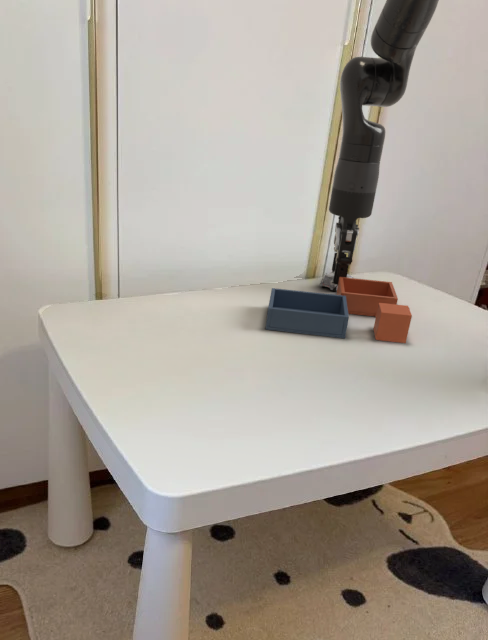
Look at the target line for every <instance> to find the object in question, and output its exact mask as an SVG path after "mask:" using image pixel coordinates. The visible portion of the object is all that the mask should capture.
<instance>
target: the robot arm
mask: <svg viewBox="0 0 488 640" xmlns="http://www.w3.org/2000/svg"><path fill="white" fill-rule="evenodd" d="M438 4H439V0H386V1H385V3H384V5H383V7H382V9H381V12H380V14H379V16H378V19H377V21H376V23H375V25H374V27H373V30H372V34H371V36H370V47H371V50H372V51H373V52H374V54H375V55H377V56H378V57H369V56H354V57H353V58H351V59H349V60H348V62H347V63H346V64H345V65H344V67H343V69H342V72H341V74H340V78H339V79H340V80H339V92H340V103H341V112H342V113H341V114H342V134H341V135H342V137H341V143H340V149H339V155H338V159H337V163H336V167H335V170H334V176H333V182H332V188H331V195H330V200H329V206H328V211H329V213H330V214H332V215H334V216H337V217H338V218H337V220H338V221H336V222H335V226H334V237H333V245H334V246H333V250H334V251H333V252H334V254H333V259H332V260H333V261H332V265H331V272H333V271H335V273H334V279H333V283H334V284H337V285H338V282H339V277H346V278H347V274H348V271H349V266H350V265H352V263H353V256H354V252H355V250H356V244H357V239H358V236H359V232H360V227H359V224H357V220H358V219H366V218H369V217H371V216H372V215H373V214H372V213H373V209H374V203H375V198H376V193H377V188H378V183H379V178H380V167H381V160H382V155H383V149H384V144H385V139H386V128H385V126H384V125H383V124H382V123H378V122H375V121H372V120H369V119H366V117H365V115H364V111H363V106H365V107H381V108H388V107H392V106H394V105H395V104H397V103H398V102H400V100H401V99H402V98H403V96H404V95H405V94H406V90H407V86H408V82H409V76H410V72H411V71H410V70H411V67H412V62H413V59H414V56H415V53H416V49H417V47H418V45H419V43H420V42H421V40H422V38H423V36H424V34H425V32H426V30H427V28H428V26H429V25H430V23H431V21H432V19H433V17H434V14H435V12H436V10H437V7H438Z"/></svg>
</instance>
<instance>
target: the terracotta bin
mask: <svg viewBox="0 0 488 640" xmlns="http://www.w3.org/2000/svg"><path fill="white" fill-rule="evenodd" d="M335 295H342V296H346V300H347V307H348V315H357V316H358V315H359V316H367V317H375V318H376V313H377V309H378V304H379V303H386V304H396V305H398V300H399V297H398V295H397V292H396V290H395V287H394V284H393V281H385V280H375V279H365V278H357V277H356V278H355V277H353V278H346V277H339V282H338V288H337V292H336V294H335Z"/></svg>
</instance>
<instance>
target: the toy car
mask: <svg viewBox="0 0 488 640" xmlns="http://www.w3.org/2000/svg"><path fill="white" fill-rule="evenodd" d="M334 273H335V271H333V272H332V271H331V272H329V273H328V272H326V273H325V274H323V276H322V278H321V279H320V281H319V285H318V286H319V287H321V288H329V289H330V290H331V291H334V292H336V293H337V288H338V285H337V284H334V283H333V279H334ZM347 278H354V276H353V275H352V274H349V273H347Z"/></svg>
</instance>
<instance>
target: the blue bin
mask: <svg viewBox="0 0 488 640" xmlns="http://www.w3.org/2000/svg"><path fill="white" fill-rule="evenodd" d="M349 315H350V314H348V307H347V300H346V296H342V295H336V294H334V293H333V294H332V293H323V292H315V291H314V292H313V291H304V290H296V289H295V290H293V289H286V288H277V287H272V288H271V290H270V296H269V300H268V305H267V313H266V323H265V330H268V331H277V332H284V333H285V332H287V333H295V334H304V335H311V336H319V337H329V338H336V339H337V338H338V339H346V335H347V331H348V330H347V329H348V324H349V319H350V316H349Z"/></svg>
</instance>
